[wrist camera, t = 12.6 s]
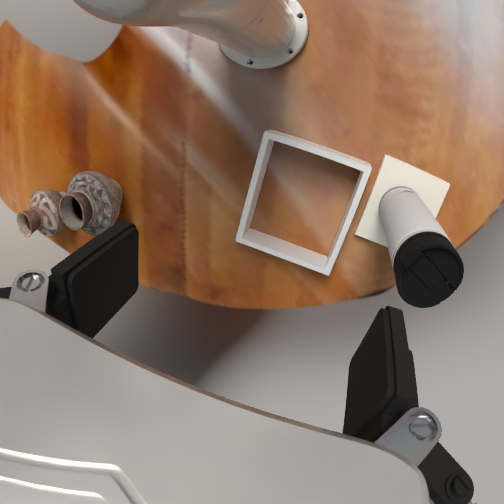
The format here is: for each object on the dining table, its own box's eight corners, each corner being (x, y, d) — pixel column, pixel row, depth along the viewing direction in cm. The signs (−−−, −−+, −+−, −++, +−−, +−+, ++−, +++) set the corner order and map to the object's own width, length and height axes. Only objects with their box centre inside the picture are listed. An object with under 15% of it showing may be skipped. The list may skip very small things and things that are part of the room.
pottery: (46, 183, 58) (4, 201, 48) (126, 157, 50) (77, 174, 39) (60, 231, 62) (22, 254, 52) (142, 219, 54) (99, 247, 44)
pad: (384, 153, 38) (385, 154, 38) (448, 182, 37) (450, 184, 36) (354, 231, 44) (354, 234, 43) (414, 256, 43) (415, 259, 42)
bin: (271, 129, 41) (264, 131, 38) (369, 163, 40) (371, 168, 36) (243, 230, 49) (235, 240, 46) (330, 262, 47) (328, 275, 44)
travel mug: (399, 174, 38) (436, 226, 21) (430, 208, 38) (479, 281, 21) (367, 206, 41) (378, 279, 24) (399, 238, 42) (424, 326, 24)
